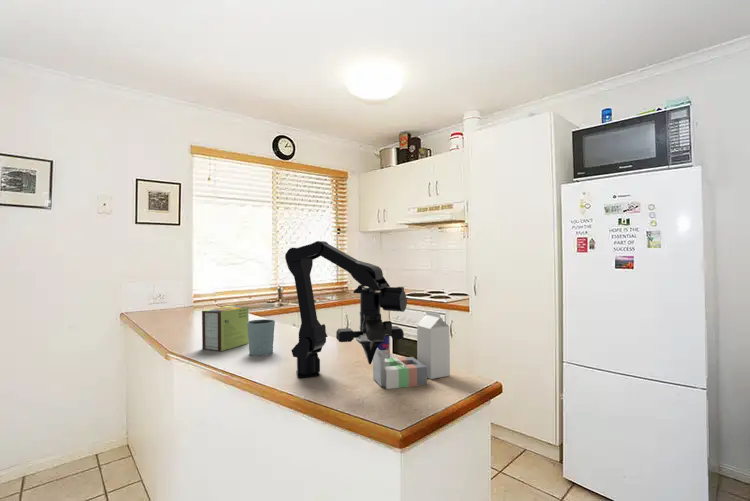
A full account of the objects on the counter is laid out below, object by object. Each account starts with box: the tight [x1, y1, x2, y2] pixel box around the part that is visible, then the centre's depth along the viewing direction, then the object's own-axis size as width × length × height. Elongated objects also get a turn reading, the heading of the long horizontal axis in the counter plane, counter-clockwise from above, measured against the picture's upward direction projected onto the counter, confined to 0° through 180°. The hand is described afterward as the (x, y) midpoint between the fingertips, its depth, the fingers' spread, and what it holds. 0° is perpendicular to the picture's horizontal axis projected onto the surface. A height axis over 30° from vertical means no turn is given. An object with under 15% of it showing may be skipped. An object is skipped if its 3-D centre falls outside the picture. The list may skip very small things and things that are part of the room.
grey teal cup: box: [247, 318, 276, 357], centre depth 147 cm, size 10×10×12 cm
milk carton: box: [416, 310, 451, 380], centre depth 118 cm, size 7×7×19 cm
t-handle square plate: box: [372, 348, 406, 387], centre depth 112 cm, size 9×12×9 cm
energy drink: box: [377, 336, 391, 359], centre depth 129 cm, size 5×5×12 cm
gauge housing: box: [383, 356, 428, 390], centre depth 113 cm, size 12×11×5 cm
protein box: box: [201, 305, 250, 352], centre depth 158 cm, size 10×15×16 cm
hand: (369, 364), depth 111 cm, fingers closed
